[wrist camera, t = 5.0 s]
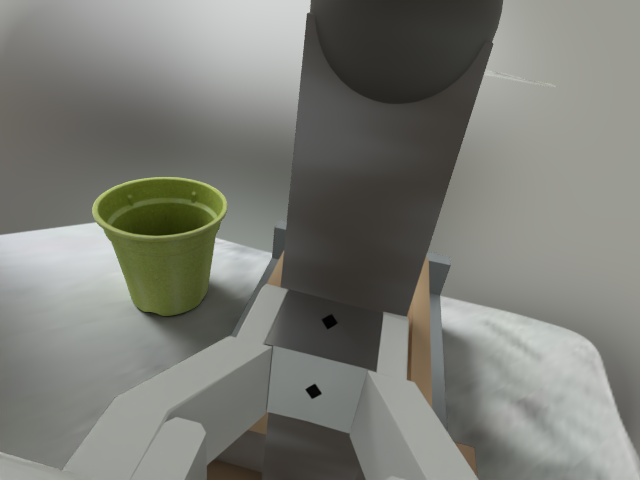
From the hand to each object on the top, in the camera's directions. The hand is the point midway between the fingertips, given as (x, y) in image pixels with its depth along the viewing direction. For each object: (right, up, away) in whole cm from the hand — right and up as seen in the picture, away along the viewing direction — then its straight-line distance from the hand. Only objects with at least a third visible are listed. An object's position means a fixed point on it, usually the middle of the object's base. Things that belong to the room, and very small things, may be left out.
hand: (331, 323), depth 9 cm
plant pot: (-13, -3, +28) cm, 31 cm away
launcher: (0, -4, +11) cm, 12 cm away
